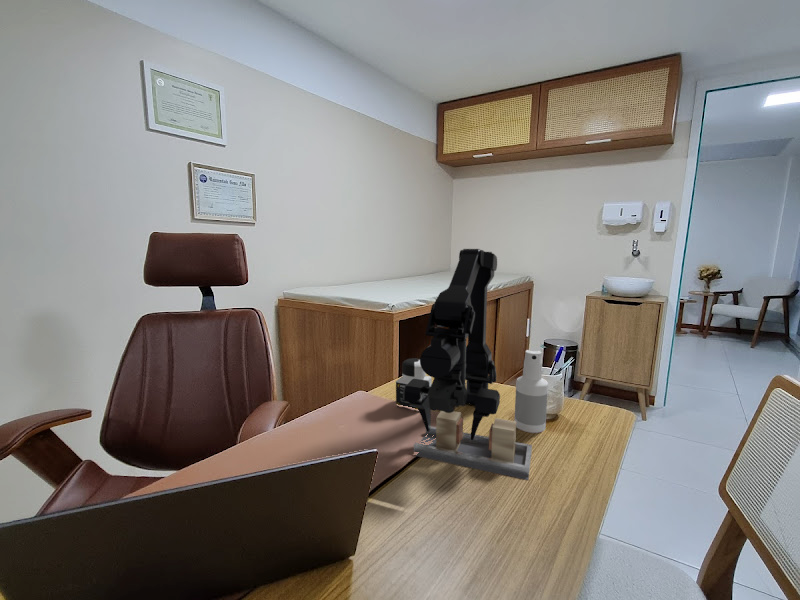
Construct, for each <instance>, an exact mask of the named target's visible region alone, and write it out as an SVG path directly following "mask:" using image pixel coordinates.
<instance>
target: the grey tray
mask: <svg viewBox="0 0 800 600" xmlns="http://www.w3.org/2000/svg"><path fill="white" fill-rule="evenodd" d="M425 434H430V435H435V436H436V426H431V425H430V431H429V432H427V431H426V430H425ZM461 441H466V442H471V443H477V444H482V445H487V446H489V436H485V435H479V434H475V436H474V439H473V440H471V433H468V432H464V431H463V437H462V439H461ZM419 443H420V442H419ZM419 443H418V442H414V444H413V452H414V451H415V452H419V453H422V454H427V455H432V456H436V457H441V458H446V459H450V460H455V461H460V462H464V463H469V464H474V465H478V466H483V467H488V468H493V469H497V470H502V471H507V472H511V473H516V474H521V475H525V476H529V477H530V468H531V459H532V450H533V449H532V447H533V445H532V444H528V443H524V442H523V443H522V442H518V441H515V451H518V452H523V453H526V460H525V465H521V464H517V463H512V462H507V461H502V460H497V459H492V458H487V457H482V456H477V455H472V454H468V453H463V452H458V451H453V450H448V449H443V448H438V447H433V446H428V445H423V444H419Z"/></svg>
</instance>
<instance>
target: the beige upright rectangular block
mask: <svg viewBox="0 0 800 600" xmlns="http://www.w3.org/2000/svg"><path fill="white" fill-rule="evenodd" d="M489 427H490V428H489V431H488V432H489V433H488V434H489V436H488V437H489V450H492V454H491V458H492V459H497V460H502V461H507V462H512V463H513V462H514V457H515V442H517V441H516V437H517V427H516V421H514V420H509V419H503V418H497V417H496V418H494V421H493V423H491V425H490V426H489Z"/></svg>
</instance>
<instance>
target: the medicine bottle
mask: <svg viewBox="0 0 800 600" xmlns="http://www.w3.org/2000/svg"><path fill="white" fill-rule="evenodd" d="M401 364H402V365H401V366H402V372H401V373H402V376H401V377H400V378H398V379H397V380H396V381H395V405H396V404H398V405H403V406H408V407H412V408H415V409H417V407H415V406H414V405H412V404H410V403H409V401H407V400H404V399H403V389H404V387H405V386H406V385H407V384H408V383H409V382H410V381H411V380H412V379H420V380H427V381H429V387H431V385H432V383H433V380H432V379H433V377H431V376H429V375H427V374H426V373H425V372H424V371H423V369H422V367H421V365H420V358H414V357H412V358H407V359H404V361H402V363H401Z"/></svg>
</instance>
